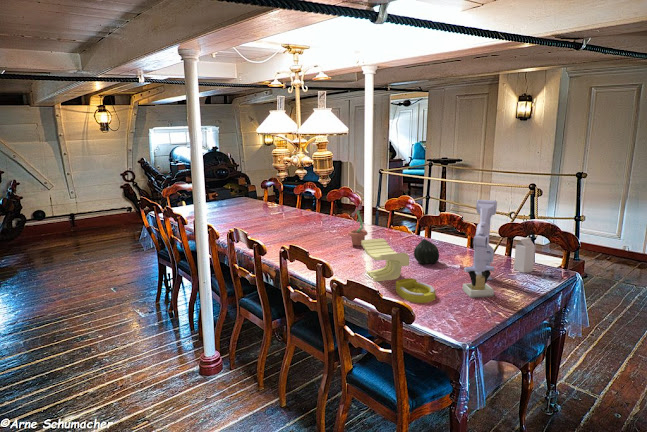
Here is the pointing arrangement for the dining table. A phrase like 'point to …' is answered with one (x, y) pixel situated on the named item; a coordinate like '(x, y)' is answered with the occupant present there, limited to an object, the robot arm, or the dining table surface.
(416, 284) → the ashtray
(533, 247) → the milk carton
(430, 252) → the squash
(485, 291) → the tote
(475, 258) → the robot arm
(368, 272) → the slatted curved stool
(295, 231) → the dining table surface
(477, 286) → the tea tin
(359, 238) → the decorative flower
